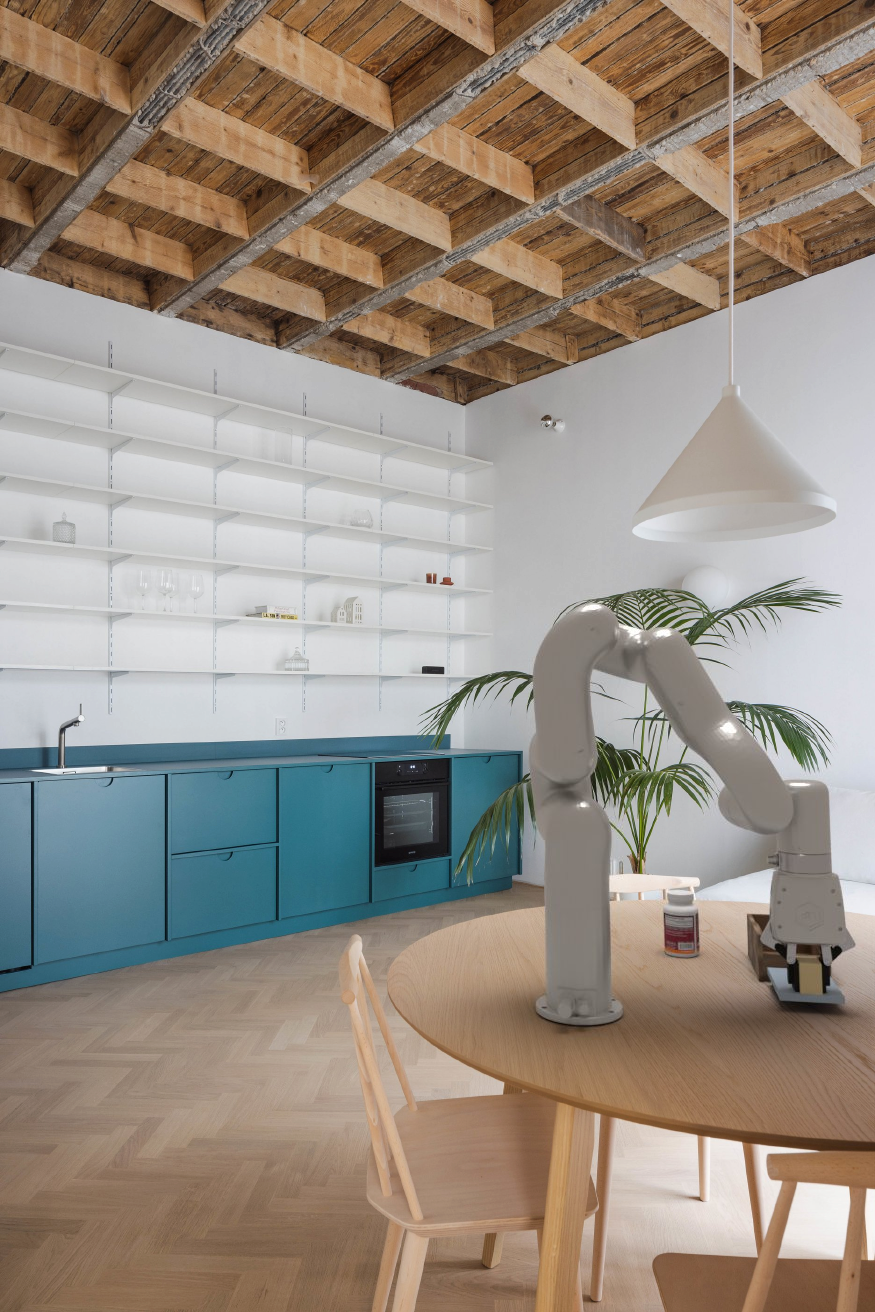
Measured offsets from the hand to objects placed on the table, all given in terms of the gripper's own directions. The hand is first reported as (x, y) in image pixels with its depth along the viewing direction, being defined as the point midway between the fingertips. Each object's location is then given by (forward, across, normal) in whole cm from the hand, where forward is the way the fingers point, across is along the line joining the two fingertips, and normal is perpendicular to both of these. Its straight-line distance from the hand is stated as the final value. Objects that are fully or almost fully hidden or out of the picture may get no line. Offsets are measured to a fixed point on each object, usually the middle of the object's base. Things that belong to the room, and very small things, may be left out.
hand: (808, 988), depth 133 cm
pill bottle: (+3, -17, +28) cm, 33 cm away
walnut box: (+3, 0, +21) cm, 21 cm away
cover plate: (+1, 0, +4) cm, 5 cm away
